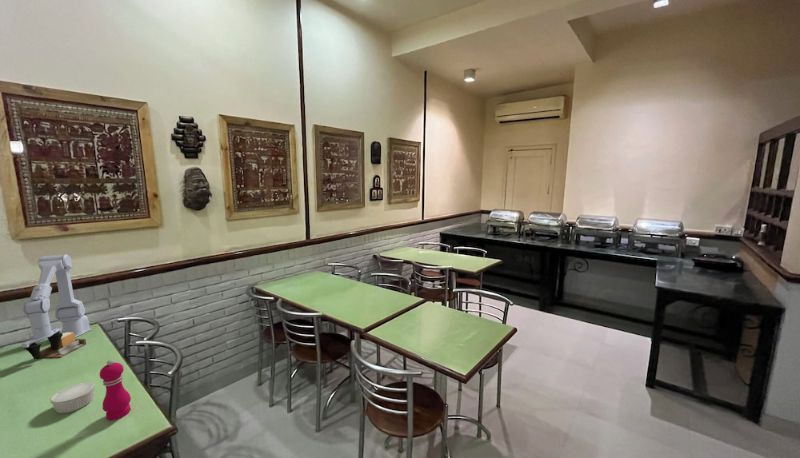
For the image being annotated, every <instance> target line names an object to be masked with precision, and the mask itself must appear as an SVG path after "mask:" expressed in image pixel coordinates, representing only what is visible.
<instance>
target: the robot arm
mask: <svg viewBox="0 0 800 458" xmlns="http://www.w3.org/2000/svg"><path fill="white" fill-rule="evenodd" d="M72 261H73V260H72V257H71V256H70V255H69V254H66V253H64V254H60V255H59V254H57V255H55V254H54V255H45V256H44V255H43V256H40V257H39V258H38V261H37V265H38V268H39V270H40V275H39V279H38V284H37V285H34V286H33V289H32V292H31V294H30V298H29V299H28V301H27V302H25V303H24V304H23V309H22V310H23V314H25V316H26V318H27V319H28V320H29V326H30V330H31V338H29V339H27V340H26V341H24V342H22V343H21V346H22V349H24V350H26V351H27V352H28V353H29V354H30V355H31V356H32V358H33V360H40V359H41V358H40V357H41V356H40V351H41V346H42V344H40V343H39V344H38V342H41V341H43V340H45V339H47V340H48V342H49V345H50V346H51V349H52V350H58V346H59V342H60V339H61V337H62V336H63V334H64V333H66V332H73V333H75V338H78V337H80V336H82V335H83V334H86V333H88V332H89V331H91V330H92V328H90V327H91V326H90V321H89V317H88V316H87V315H86V314H85V313H86V308H85V306H84V304H83V301H82V300H78V299H75V297H74V296H75V294H74V290H73V285H72V279H71V272H70V270H71V269H73V262H72ZM54 277H55V279H56V284H57V289H58V290H57V291H58V294H59V299H60V300H59V301H60V302H59V303H58V304H57V305H56V306H54V307H55V308H54V317H55V319H56V320H57V321H59V322H61V326H62V327H57V328H53V329H52V326H51V321H50V317H49V310H50V307H51V303H50V302H51V300H50V297H51V293H52V290H53V287H52V286H51V283H52V280H53V279H54Z"/></svg>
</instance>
